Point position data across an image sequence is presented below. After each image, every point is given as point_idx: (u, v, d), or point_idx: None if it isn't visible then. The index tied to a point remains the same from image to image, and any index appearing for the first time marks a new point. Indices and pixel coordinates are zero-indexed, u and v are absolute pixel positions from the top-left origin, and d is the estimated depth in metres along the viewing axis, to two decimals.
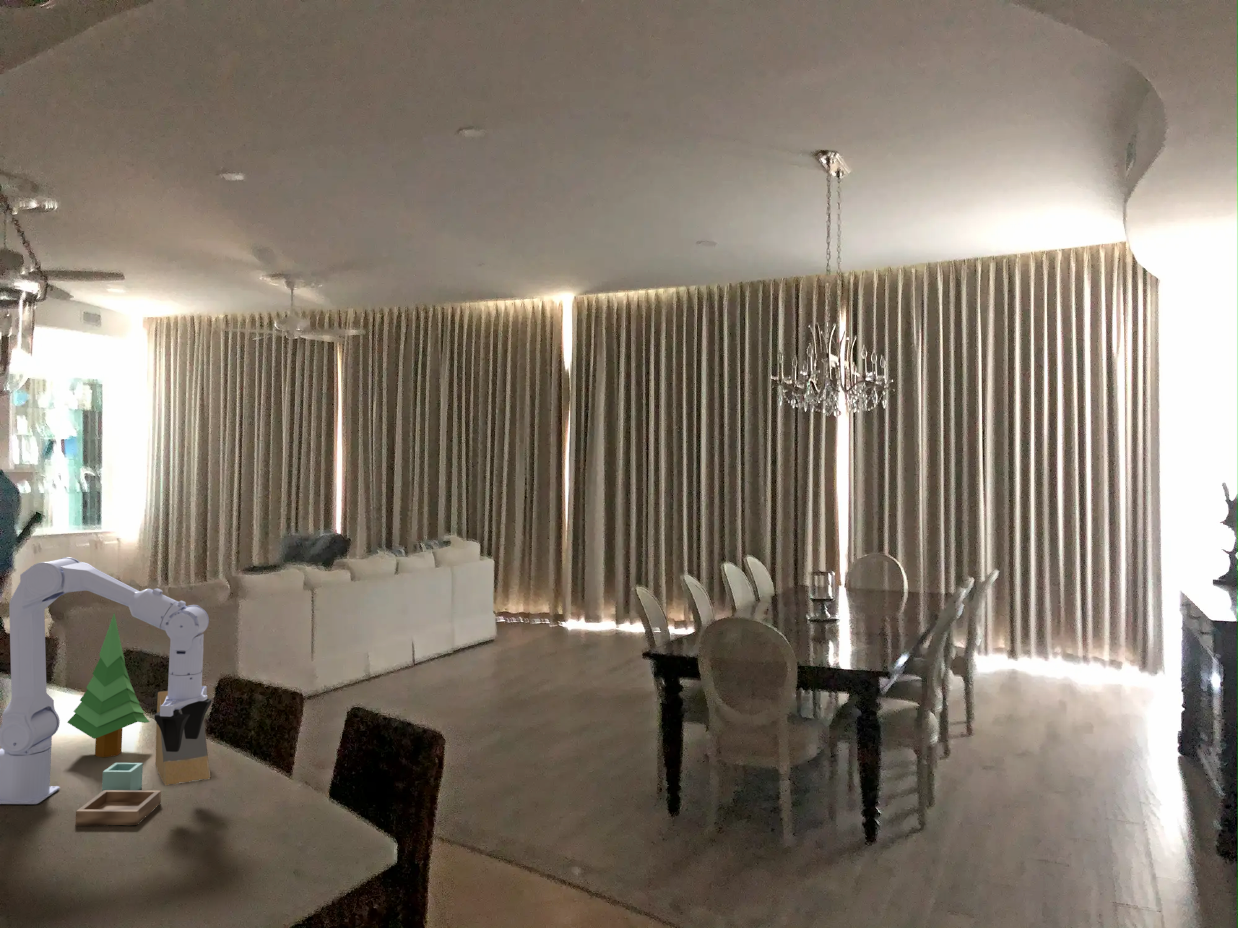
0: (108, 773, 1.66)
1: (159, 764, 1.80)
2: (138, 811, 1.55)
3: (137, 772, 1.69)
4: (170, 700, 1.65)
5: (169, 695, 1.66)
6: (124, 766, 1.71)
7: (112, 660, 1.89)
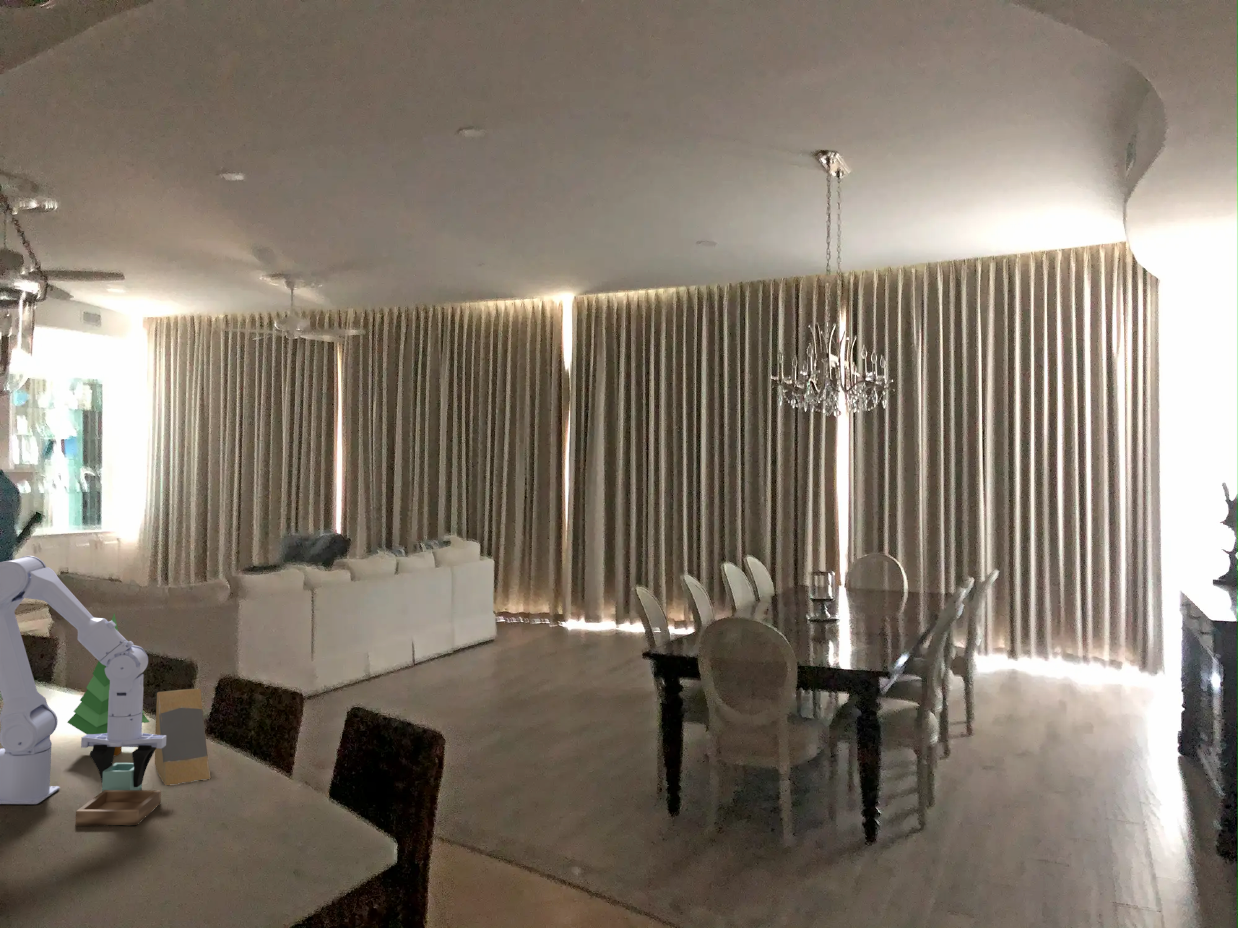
0: (108, 773, 1.66)
1: (159, 764, 1.80)
2: (138, 811, 1.55)
3: None
4: None
5: None
6: (124, 766, 1.71)
7: None
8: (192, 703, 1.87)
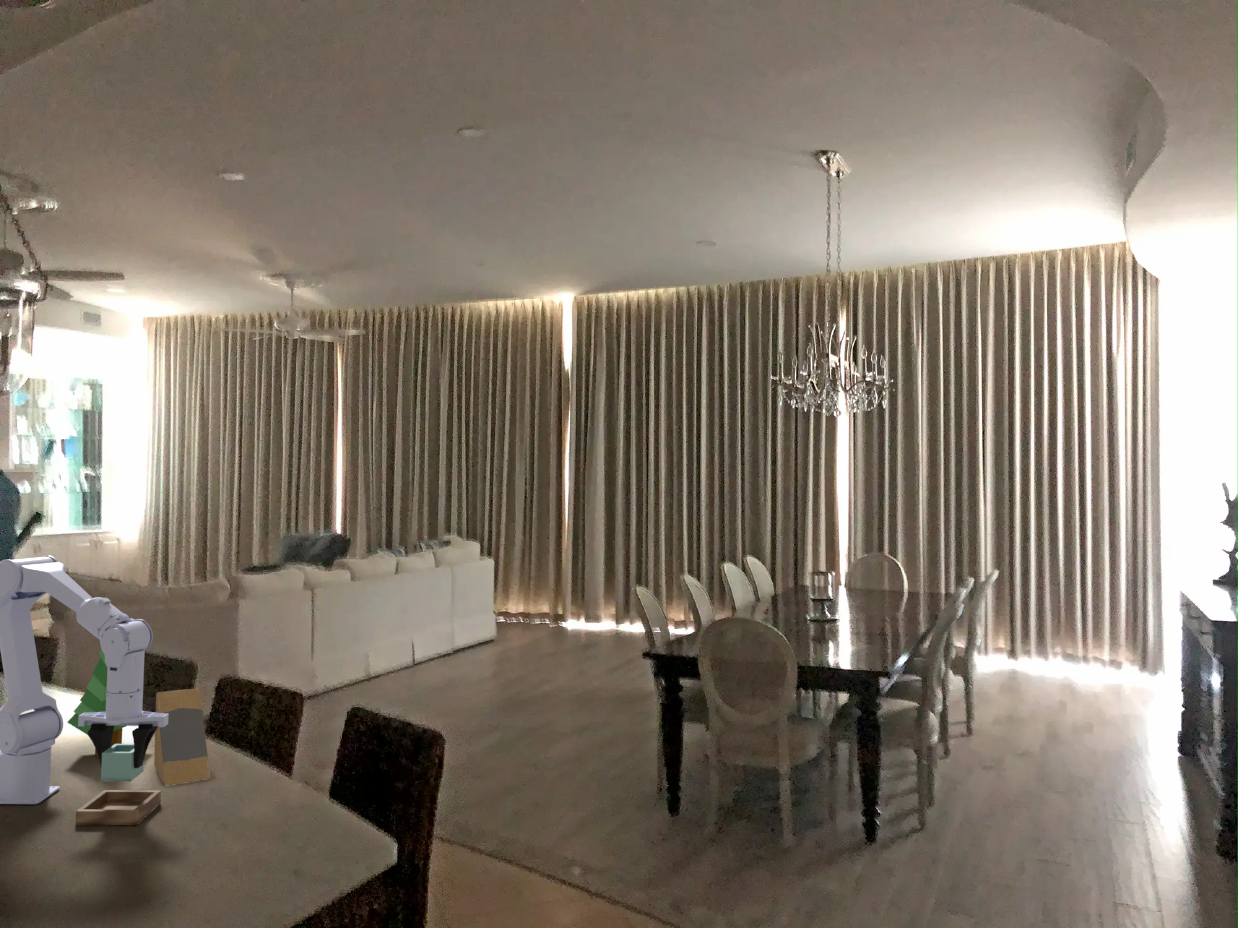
0: (108, 754, 1.57)
1: (158, 765, 1.80)
2: (138, 811, 1.55)
3: None
4: None
5: None
6: (124, 747, 1.62)
7: None
8: (191, 703, 1.87)
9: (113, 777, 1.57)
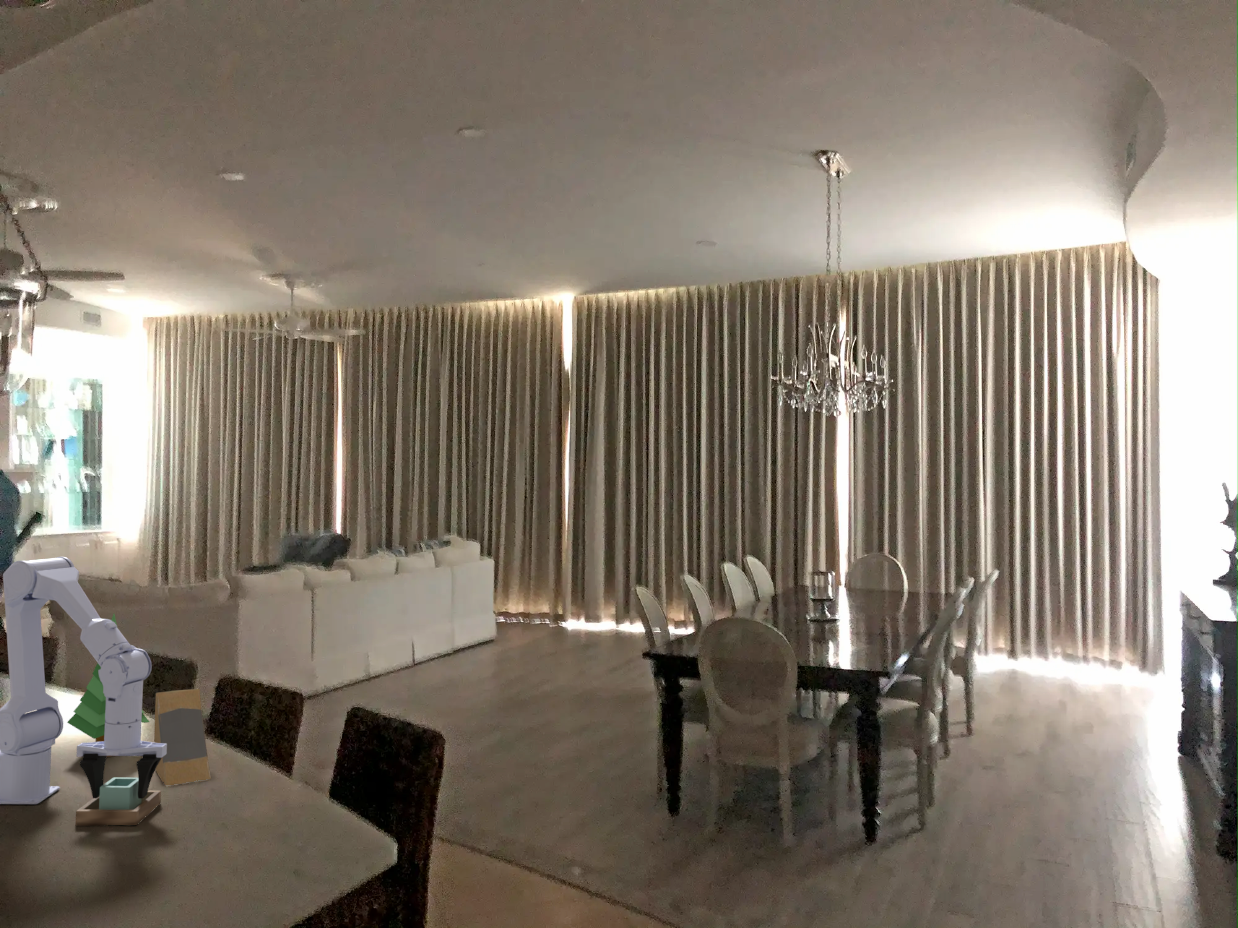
0: (106, 789, 1.57)
1: (158, 765, 1.80)
2: (138, 811, 1.55)
3: (136, 787, 1.60)
4: None
5: None
6: (123, 781, 1.61)
7: None
8: (191, 703, 1.87)
9: None
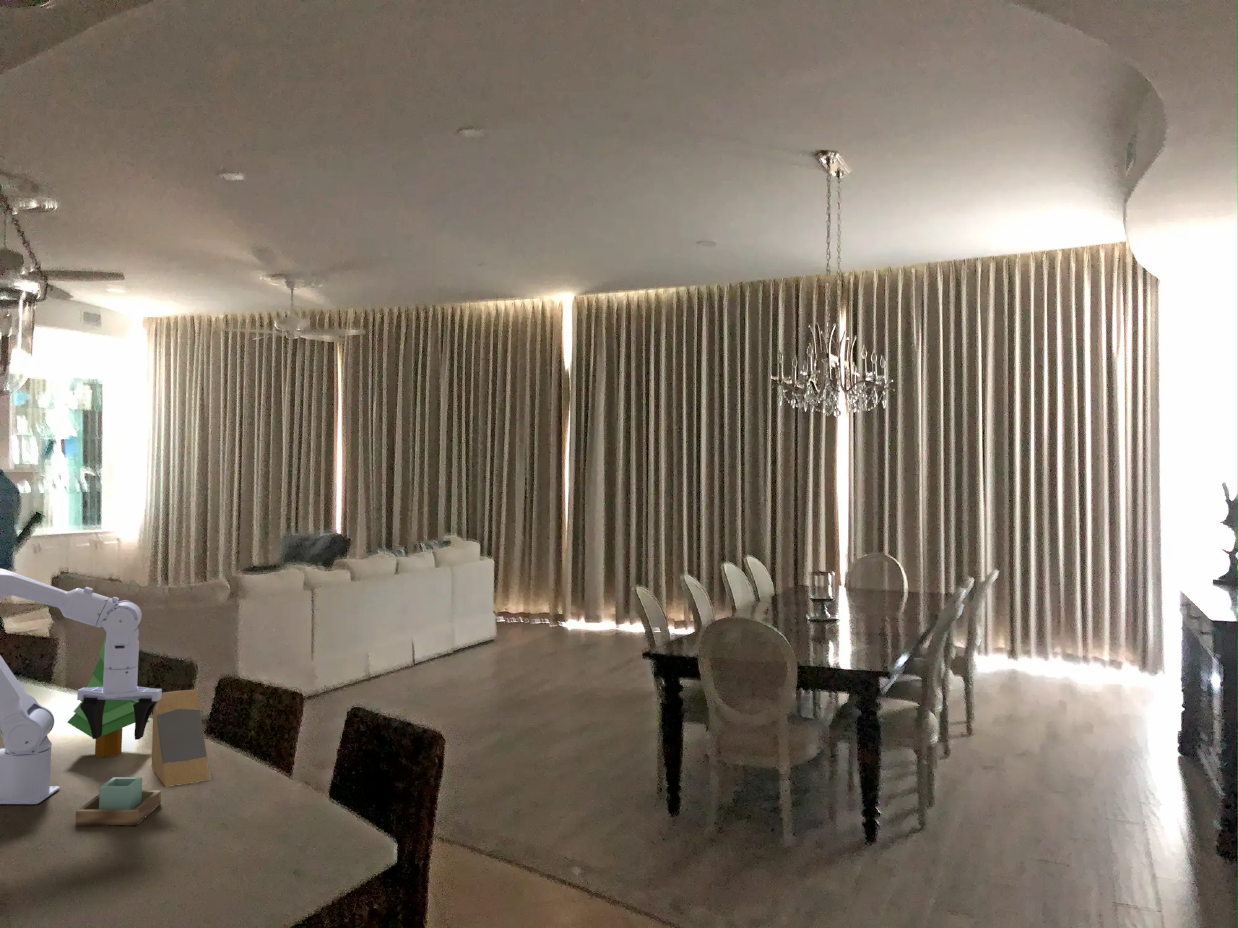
0: (106, 789, 1.57)
1: (157, 766, 1.79)
2: (138, 811, 1.55)
3: (136, 787, 1.60)
4: None
5: None
6: (123, 781, 1.61)
7: None
8: (189, 704, 1.87)
9: None
